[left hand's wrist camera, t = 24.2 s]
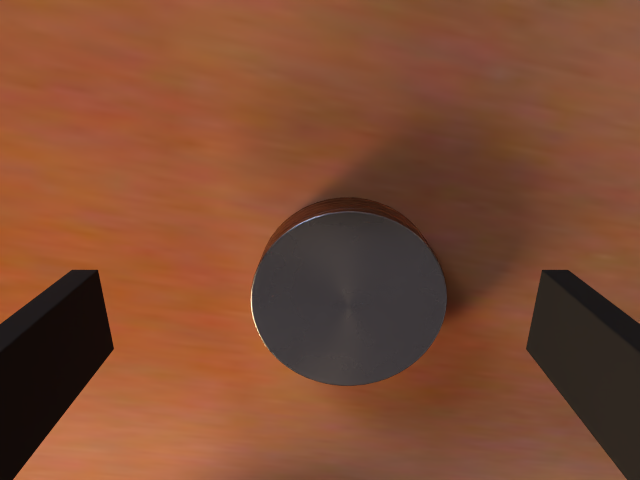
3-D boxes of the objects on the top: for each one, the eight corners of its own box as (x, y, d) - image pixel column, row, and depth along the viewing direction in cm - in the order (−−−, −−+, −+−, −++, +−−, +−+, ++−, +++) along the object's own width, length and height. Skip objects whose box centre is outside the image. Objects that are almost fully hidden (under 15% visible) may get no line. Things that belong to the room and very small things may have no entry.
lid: (408, 368, 17) (417, 399, 15) (248, 340, 16) (239, 369, 15) (456, 215, 15) (473, 232, 13) (273, 180, 14) (265, 193, 13)
